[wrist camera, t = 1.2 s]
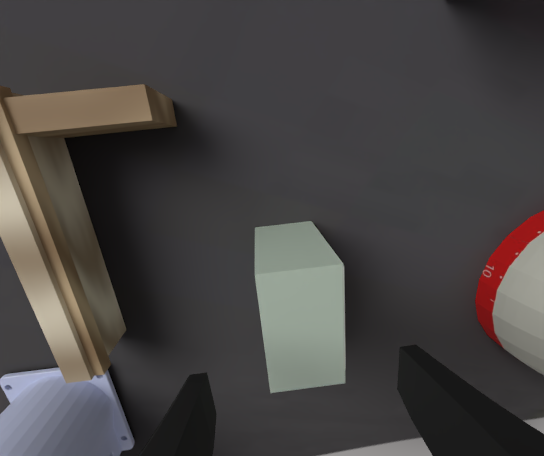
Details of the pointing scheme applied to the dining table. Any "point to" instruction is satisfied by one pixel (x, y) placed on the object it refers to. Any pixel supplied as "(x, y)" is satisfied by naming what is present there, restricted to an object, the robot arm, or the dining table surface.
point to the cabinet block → (300, 306)
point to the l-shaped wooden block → (65, 214)
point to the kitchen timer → (516, 294)
